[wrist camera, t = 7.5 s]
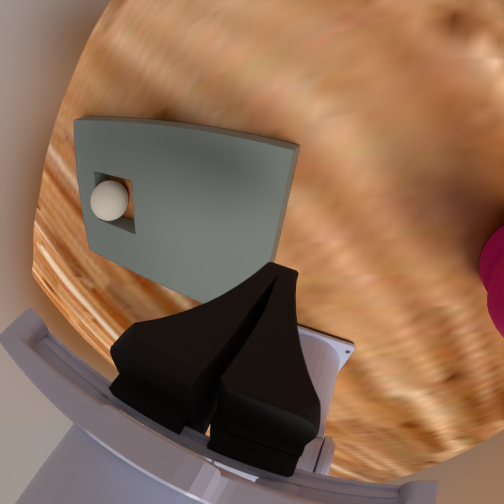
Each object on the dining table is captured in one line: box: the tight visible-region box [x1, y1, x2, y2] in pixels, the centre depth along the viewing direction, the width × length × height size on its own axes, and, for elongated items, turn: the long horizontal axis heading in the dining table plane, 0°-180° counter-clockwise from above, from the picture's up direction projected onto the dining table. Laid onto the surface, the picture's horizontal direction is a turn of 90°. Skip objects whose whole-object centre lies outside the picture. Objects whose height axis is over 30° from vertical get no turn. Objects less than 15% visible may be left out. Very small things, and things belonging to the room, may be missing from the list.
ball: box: [90, 180, 129, 221], centre depth 24 cm, size 4×4×4 cm
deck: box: [74, 116, 300, 304], centre depth 24 cm, size 16×22×2 cm
